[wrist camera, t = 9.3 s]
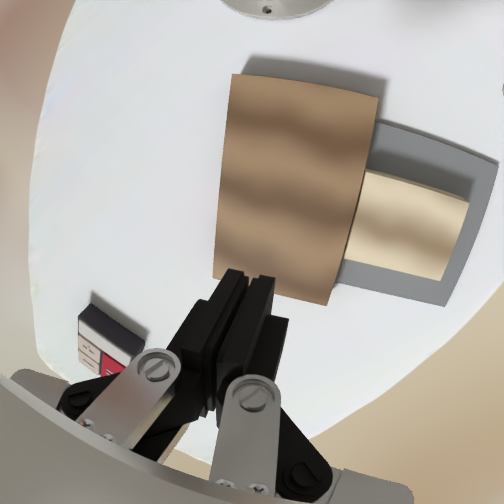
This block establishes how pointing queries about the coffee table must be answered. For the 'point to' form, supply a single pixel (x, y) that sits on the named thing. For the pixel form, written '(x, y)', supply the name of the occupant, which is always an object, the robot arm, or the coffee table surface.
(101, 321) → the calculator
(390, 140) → the rubber mat
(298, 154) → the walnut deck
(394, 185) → the oak tile
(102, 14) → the coffee table surface
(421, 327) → the coffee table surface
